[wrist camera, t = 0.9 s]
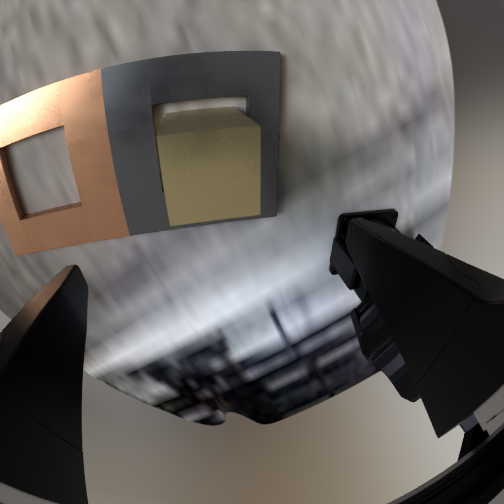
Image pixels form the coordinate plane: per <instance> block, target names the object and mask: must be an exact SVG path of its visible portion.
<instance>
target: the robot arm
mask: <svg viewBox="0 0 504 504" xmlns="http://www.w3.org/2000/svg"><path fill="white" fill-rule="evenodd" d="M345 218H346V219H345ZM397 218H398V212H397V211H396V210H395V209H387V210H376V211H365V212H354V213H344V214H341V215H340V216H339V218H338V223H337V229H336V235H335V238H334V240H333V246H332V252H331V257H330V267H329V271H330V273H331V274H332V275H336V274H339V275H340V277H341V278H342V280H343V281H344V283H345V284H346V286H347V287H348V288H349V289H350V290H353V289H354V291H355V292H356V294H357V295H358V297H359V298H360V300H361V303H360V304H359V305H358V306H357V307H356V308H354V309H353V310H352V311H351V312H350V315H351V318H352V321H353V325H354V328H355V331H356V334H357V337H358V341H359V344H360V347H361V351H362V354H363V355H364V356H365V357H366V358H367V360H368V362H370V363H371V364H372V365H373V366H375V367H376V368H377V369H379V370H380V371H382V372H383V373H384V374H385V375H386V376H387V377H388V378H389V380H390V381H391V382H392V384H393V385H394V387H395V388H396V390H397V391H398V393H399V394H400V396H401V397H403V398H405V399H407V400H409V401H411V402H416V401H417V400H418V399H420V398H421V399H422V402H423V404H424V406H425V409H426V410H427V413H428V416H429V418H430V421H431V423H432V425H433V428H434V430H435V433H436V435H437V437H438V438H440V437H441V436H443V435H444V434H446V433H447V432H449V431H450V430H452V429H453V428H455V427H456V426H458V425H460V426H461V428H462V429H463V431H464V432H465V434H464V438H463V442H462V446H461V450H460V454H459V458H458V461H457V462H456V463H455V464H453V465H452V466H451V467H449V468H447V469H446V470H445V471H443V472H442V473H440V474H438V475H437V476H435V477H434V478H432V479H431V480H429V481H427V482H426V483H424V484H423V485H421V486H419V487H418V488H416V489H414V490H412V491H410V492H409V493H407V494H405V495H403V496H401V497H400V498H398V499H396V500H394V501H392V502H390V503H388V504H504V279H502V278H500V277H497V276H495V275H493V274H490V273H488V272H486V271H483V270H481V269H479V268H477V267H474V266H472V265H470V264H467V263H465V262H463V261H461V260H459V259H457V258H454V257H452V256H450V255H448V254H447V255H446V254H445V253H444V252H441V251H439V250H437V249H435V248H434V247H433V246H432V245H431V244H430V243H429V242H427V241H426V240H425V239H424V238H423V237H422V236H421V235H420V234H418V236H417V237H416V238H415V239H416V240H414V239H412V238H410V237H407V236H405V235H403V234H402V233H401V232H400V231H399V230H398V229H397V228H396V227H395V225H396V221H397ZM344 219H345V220H344ZM343 220H344V221H343ZM334 269H335V270H334ZM87 308H88V285H87V282H86V280H85V278H84V276H83V274H82V272H81V270H80V268H79V267H78V266H77V265H70V266H66V267H65V268H64V269H63V270H62V271H61V272H59V273H58V274H57V275H56V276H55V277H54V278H53V279H52V280H51V281H50V282H49V283H48V284H47V285H46V286H45V287H44V288H43V289H42V290H40V291H39V292H38V293H37V294H36V295H35V296H34V297H33V298H32V299H31V300H30V301H29V302H28V303H27V304H26V306H25V307H24V308H23V309H22V310H21V311H20V312H19V313H18V314H17V315H16V316H15V317H14V318H13V319H12V320H11V321H10V322H9V324H8V325H7V326H6V327H5V328H4V329H3V330H2V332H0V504H88V499H87V493H86V483H85V473H84V462H83V451H82V412H81V411H82V380H83V364H84V352H85V342H86V332H87Z"/></svg>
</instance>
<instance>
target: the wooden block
mask: <svg viewBox="0 0 504 504" xmlns="http://www.w3.org/2000/svg"><path fill="white" fill-rule="evenodd" d="M157 143H158V151H159V159H160V166H161V173H162V180H163V187H164V193H165V199H166V206H167V211H168V217H169V223H170V226H176V225H183V224H190V223H198V222H205V221H213V220H221V219H229V218H237V217H246V216H254V215H260V181H261V126H260V125H258V124H257V123H256V122H254V121H253V120H252V119H250V118H249V117H248V116H246V115H245V114H244V113H242V112H241V111H240V110H238V109H237V108H235V107H220V108H208V109H197V110H188V111H180V112H172V113H166V115H165V117H164V120H163V122H162V125H161V127H160V129H159V132H158V134H157Z"/></svg>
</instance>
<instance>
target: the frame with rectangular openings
mask: <svg viewBox="0 0 504 504" xmlns="http://www.w3.org/2000/svg"><path fill="white" fill-rule="evenodd" d="M228 96H246V110H247V116H248V117H249V118H250V119H252V120H253V121H254V122H256V123H257V124H258V125H260V126H261V181H260V215H254V216H246V217H237V218H229V219H221V220H213V221H205V222H198V223H190V224H183V225H176V226H170V223H169V217H168V211H167V206H166V199H165V193H164V188H163V183H162V177H161V170H160V163H159V155H158V147H157V139H156V130H155V121H154V111H153V105H154V104H160V103H167V102H175V101H183V100H192V99H202V98H214V97H228ZM279 112H280V52H274V51H223V52H205V53H193V54H183V55H174V56H166V57H159V58H153V59H147V60H141V61H135V62H130V63H125V64H121V65H116V66H112V67H108V68H104V69H100V70H96V71H92V72H88V73H85V74H81V75H78V76H75V77H72V78H68V79H65V80H62V81H59V82H56V83H54V84H51V85H48V86H45V87H43V88H40V89H37V90H35V91H32V92H30V93H28V94H25V95H23V96H21V97H18V98H16V99H14V100H12V101H9V102H7V103H5V104H3V105H1V106H0V219H1V221H2V224H3V226H4V229H5V231H6V234H7V236H8V238H9V241H10V243H11V245H12V247H13V250H14V252H15V254H16V256H17V255H22V254H27V253H32V252H38V251H43V250H48V249H54V248H59V247H65V246H71V245H76V244H82V243H88V242H94V241H100V240H106V239H112V238H118V237H125V236H131V235H138V234H144V233H151V232H158V231H164V230H171V229H179V228H186V227H193V226H201V225H208V224H216V223H224V222H232V221H240V220H248V219H257V218H265V217H274V216H277V189H278V156H279ZM62 125H64V129H65V135H66V140H67V145H68V150H69V155H70V160H71V164H72V168H73V173H74V177H75V181H76V185H77V188H78V192H79V196H80V199H81V202H80V203H75V204H70V205H66V206H61V207H57V208H53V209H49V210H44V211H40V212H36V213H32V214H28V215H25V216H24V215H23V212H22V209H21V206H20V203H19V200H18V197H17V194H16V191H15V188H14V185H13V181H12V178H11V174H10V171H9V167H8V163H7V159H6V155H5V151H4V146H6V145H8V144H11V143H13V142H16V141H18V140H21V139H24V138H26V137H29V136H32V135H34V134H37V133H40V132H43V131H46V130H49V129H52V128H55V127H59V126H62Z"/></svg>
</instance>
